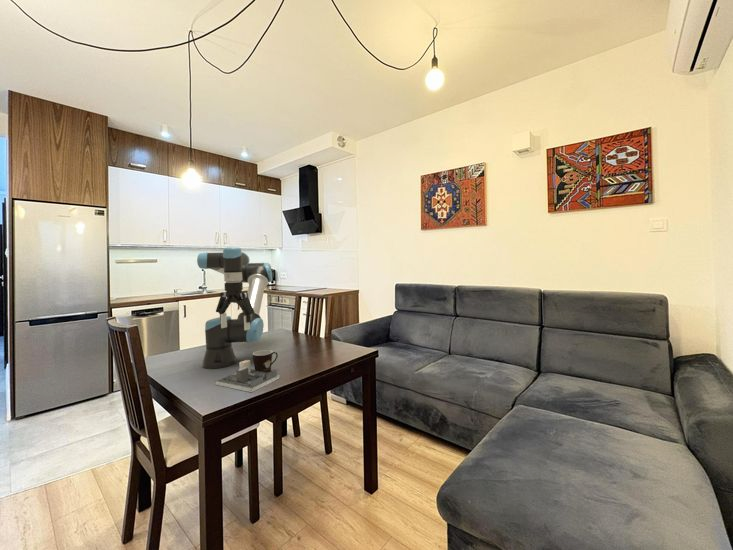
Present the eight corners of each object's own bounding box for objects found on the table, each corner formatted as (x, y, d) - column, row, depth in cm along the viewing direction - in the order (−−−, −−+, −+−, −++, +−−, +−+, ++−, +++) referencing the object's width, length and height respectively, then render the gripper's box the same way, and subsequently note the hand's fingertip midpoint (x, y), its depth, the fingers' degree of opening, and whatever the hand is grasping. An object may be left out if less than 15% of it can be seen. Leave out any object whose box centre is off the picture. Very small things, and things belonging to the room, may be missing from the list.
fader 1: (239, 373, 138) (239, 362, 138) (246, 370, 142) (246, 359, 142) (243, 374, 137) (243, 362, 137) (250, 371, 141) (250, 360, 141)
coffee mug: (254, 379, 137) (253, 356, 136) (251, 373, 145) (251, 351, 144) (281, 374, 142) (281, 352, 142) (277, 369, 150) (276, 348, 149)
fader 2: (236, 382, 128) (236, 369, 128) (244, 379, 132) (243, 366, 131) (240, 383, 127) (240, 370, 127) (248, 379, 131) (248, 367, 130)
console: (215, 384, 131) (215, 375, 130) (245, 372, 145) (245, 363, 145) (251, 392, 122) (251, 382, 122) (279, 378, 136) (279, 369, 136)
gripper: (206, 282, 143) (208, 328, 144) (249, 282, 133) (251, 332, 134) (219, 280, 149) (221, 325, 151) (261, 281, 140) (263, 328, 141)
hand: (235, 328), depth 142 cm, fingers open, 13 cm apart
